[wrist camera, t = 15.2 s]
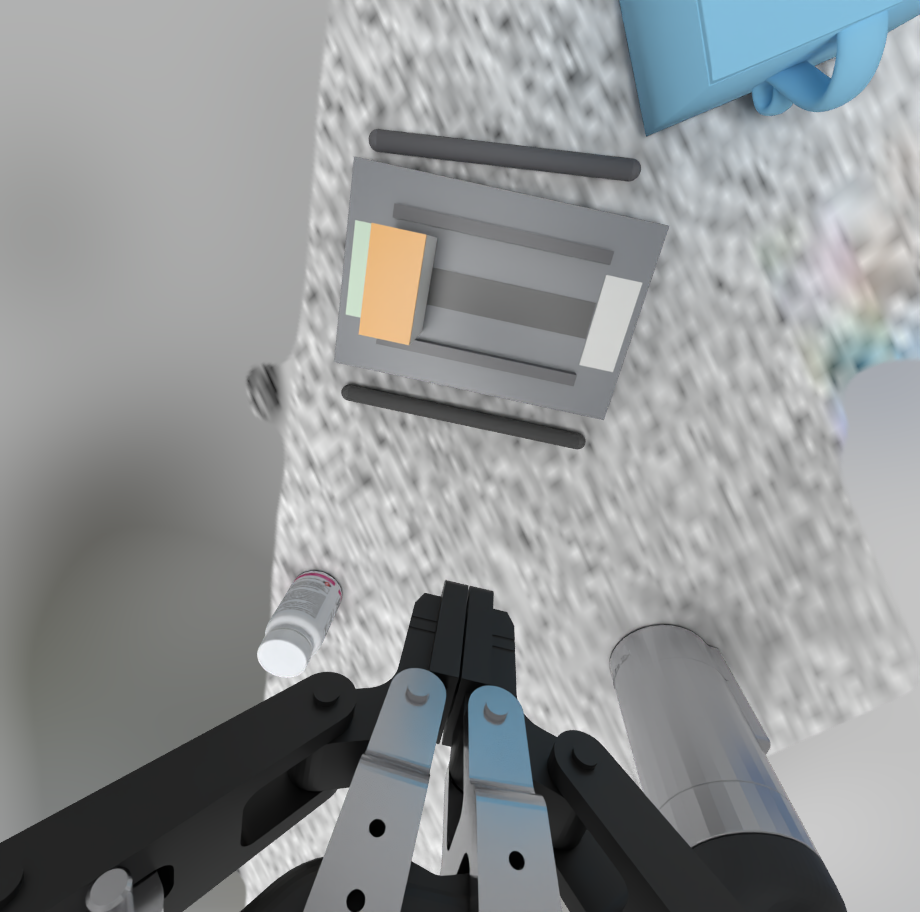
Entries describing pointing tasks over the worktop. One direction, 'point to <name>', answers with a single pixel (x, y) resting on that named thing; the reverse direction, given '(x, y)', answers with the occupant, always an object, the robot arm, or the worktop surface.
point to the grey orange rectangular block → (396, 284)
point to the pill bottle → (299, 624)
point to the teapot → (754, 52)
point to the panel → (503, 289)
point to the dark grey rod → (463, 417)
